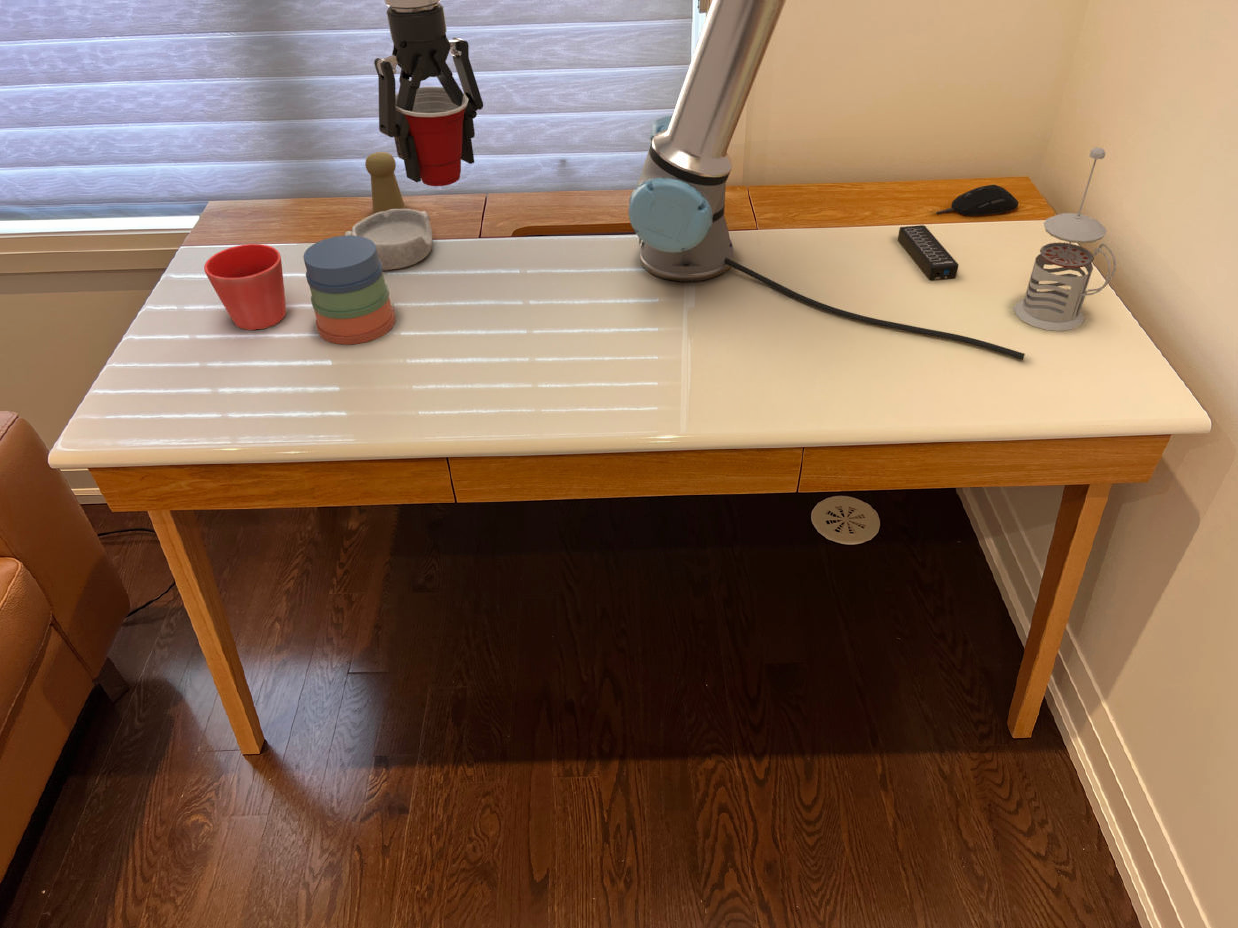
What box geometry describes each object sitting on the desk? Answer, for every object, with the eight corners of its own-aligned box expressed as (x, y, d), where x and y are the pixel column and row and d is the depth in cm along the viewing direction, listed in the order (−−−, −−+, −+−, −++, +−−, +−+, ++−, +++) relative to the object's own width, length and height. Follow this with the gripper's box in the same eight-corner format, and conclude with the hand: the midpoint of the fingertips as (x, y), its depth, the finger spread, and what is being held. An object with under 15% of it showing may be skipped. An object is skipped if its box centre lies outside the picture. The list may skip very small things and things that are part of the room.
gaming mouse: (928, 206, 169) (933, 185, 167) (1005, 197, 171) (1010, 176, 169) (944, 221, 164) (949, 199, 162) (1023, 212, 166) (1029, 190, 164)
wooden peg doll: (403, 220, 170) (392, 161, 163) (370, 221, 170) (357, 162, 163) (409, 206, 175) (399, 147, 168) (377, 206, 175) (365, 148, 168)
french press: (1033, 290, 146) (1079, 128, 130) (1108, 316, 139) (1166, 150, 123) (1001, 314, 141) (1046, 149, 125) (1077, 343, 134) (1134, 173, 118)
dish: (429, 229, 167) (425, 202, 164) (443, 264, 157) (439, 236, 154) (346, 243, 164) (340, 216, 161) (355, 279, 154) (349, 251, 151)
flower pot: (258, 343, 140) (239, 284, 133) (208, 324, 144) (188, 266, 138) (311, 311, 146) (295, 253, 140) (262, 293, 151) (245, 237, 145)
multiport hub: (921, 237, 160) (924, 224, 159) (956, 278, 149) (959, 265, 148) (896, 239, 160) (899, 226, 158) (929, 281, 149) (932, 267, 147)
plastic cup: (465, 196, 136) (453, 112, 128) (394, 192, 138) (378, 109, 130) (488, 166, 144) (477, 85, 136) (421, 163, 146) (407, 83, 138)
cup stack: (410, 324, 143) (396, 252, 135) (341, 353, 137) (322, 279, 129) (371, 296, 149) (355, 225, 142) (303, 323, 144) (284, 251, 136)
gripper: (465, -16, 133) (485, 143, 147) (328, 17, 123) (364, 184, 137) (496, -7, 128) (514, 156, 143) (356, 27, 118) (391, 199, 132)
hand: (441, 169), depth 140 cm, fingers closed on plastic cup, 9 cm apart
